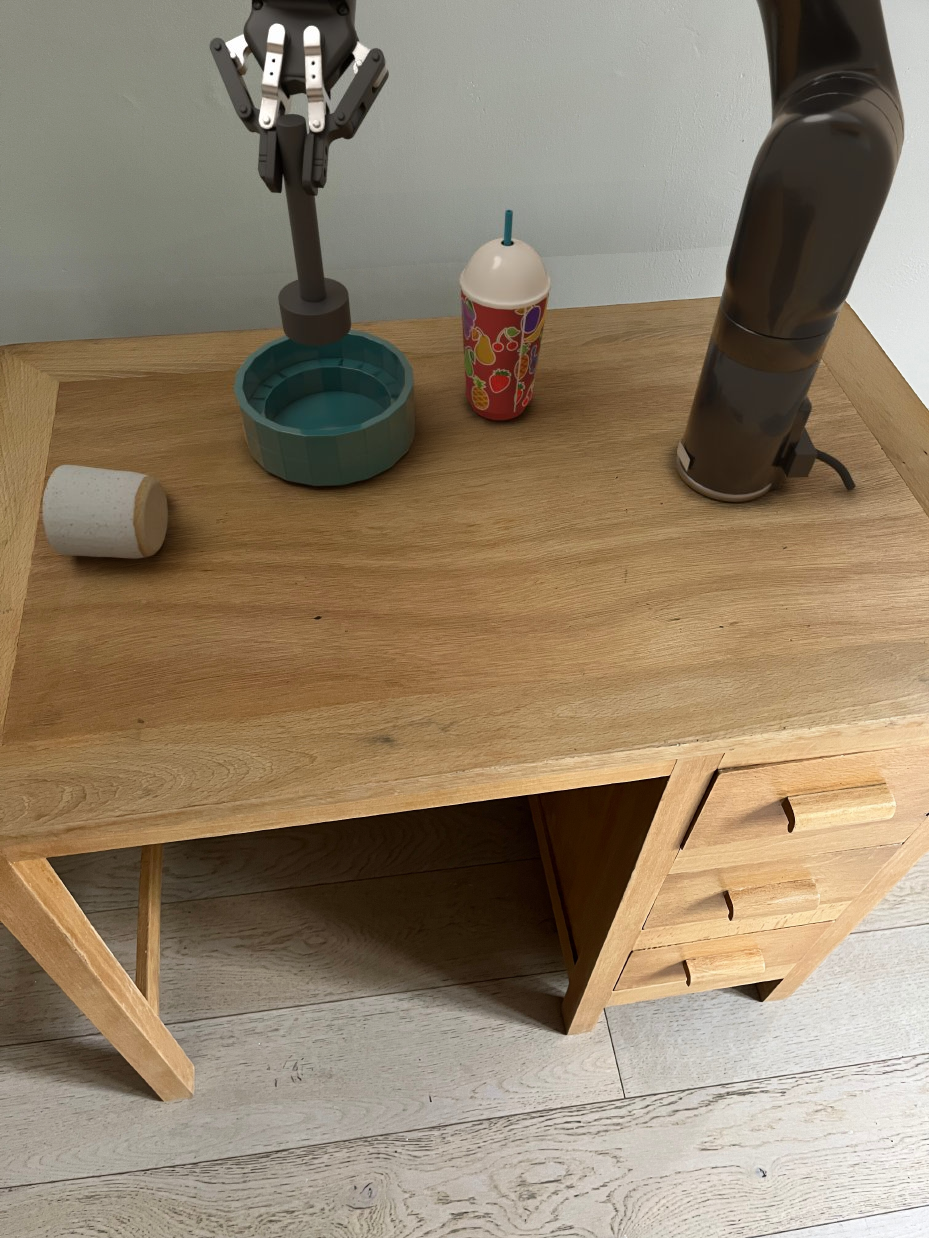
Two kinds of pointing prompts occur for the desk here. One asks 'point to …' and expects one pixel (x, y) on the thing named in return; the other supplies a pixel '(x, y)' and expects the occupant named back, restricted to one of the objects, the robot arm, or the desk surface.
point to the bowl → (327, 408)
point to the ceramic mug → (104, 512)
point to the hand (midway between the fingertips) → (291, 189)
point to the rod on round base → (307, 254)
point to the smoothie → (502, 324)
